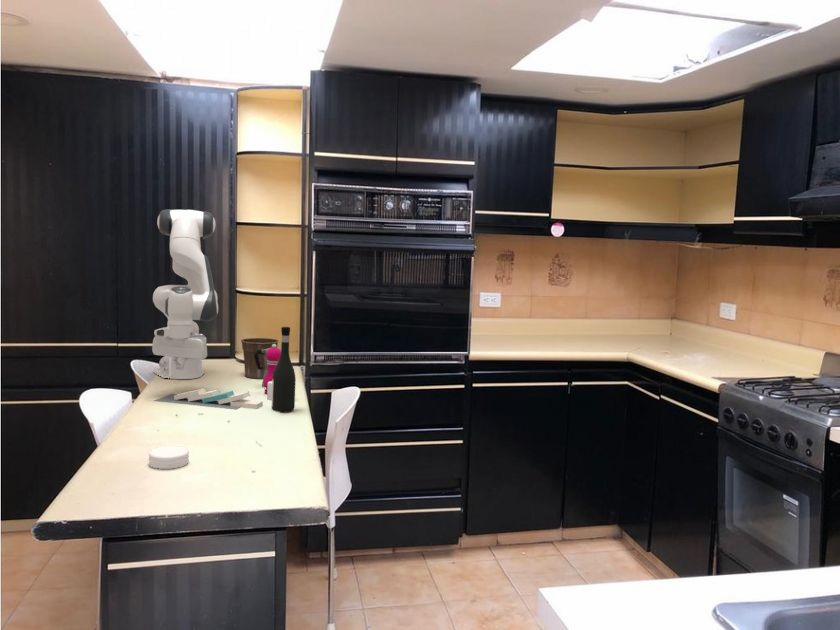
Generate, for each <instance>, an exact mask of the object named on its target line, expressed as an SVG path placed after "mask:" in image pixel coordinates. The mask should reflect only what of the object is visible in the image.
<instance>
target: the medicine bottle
mask: <svg viewBox="0 0 840 630" xmlns="http://www.w3.org/2000/svg"><path fill="white" fill-rule="evenodd" d="M273 374H274V371H273ZM266 399H267V401H271V402H272V381H270V382H268V385H267V396H266Z"/></svg>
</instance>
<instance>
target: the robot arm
mask: <svg viewBox="0 0 840 630" xmlns="http://www.w3.org/2000/svg"><path fill="white" fill-rule="evenodd" d="M156 223H157V227H158V230H159V232H160V233H161V234H162V235H165V236H169V255H170V257H171V258H172V270H173V272H174V273H175V274H176V275H178V276H179V277H181V278H183V279H185V281H187V284H184V285H183V284H182V285H181V284H166V285H162V286H158V287H157V288H155V290H154V292H153V294H152V303H153V304H154V306H155V308H157V309H158V310H159V311H160V312H161V313H163V314H164V316H165V317H166V318H167V324H166V325H167V326H163V327H161V328H158V329H155V330H154V333H153V334H154V338H153V340H152V346H151V350H152V353H153V355H154V356H155V355H156V356H163V357H162V358H160V360H159V362H158V366H159V369H154V370H153V373H154V374H155V375H157V376H158V375H159V377H160V376H161V377H160V378H162V379H164V378H168V379H167V380H169V378H170V379H171V380H192V379H198V378H201V377H202V376H203V375H205V371H204V370H203V362H202V361H203V360H205V359H206V358H207V357H208V347H207V343H208V341H207V337H206V336H205V335H204V334H203V333H200V328H199V325H198V323H197V322H196V321H203V322H212V320H213V319H215V318H216V317H217V316H218V313H219V304H218V303H219V302H218V300H219V299H218V293H217V292H216V289H215V287H214V281H213V276H212V275H213V274H212V270H211V264H210V261H209V260H210V259H209V258H208V256H207V255H205V254H203V252H202V248H201V247H202V245H201V238H203V240H205V239H207V238H209V237H211V236H212V235H213V234H214V232H215V230H216V224H217V223H216V219H215V217H214V215H213V214H212V213H211V212H209V211H204V210H203V211H201V210H196V209H168V208H167V209H163V210H161V211H160V212H159V214H158V216H157V222H156Z"/></svg>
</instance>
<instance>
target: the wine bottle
mask: <svg viewBox="0 0 840 630" xmlns="http://www.w3.org/2000/svg"><path fill="white" fill-rule="evenodd" d="M280 329H281V330H280V331H281V345H280V346H281V348H280V349H281V355H280V358H279V361H278V363H277V366H276V368H275V370H274V374H273V379H272V401H271V409H272V410H273V411H275V412H279V413H290V412H292V411H294V409H295V405H296V404H295V402H296V382H297V381H296V372H295V369H294V366H293V363H292V361H291V356H290V334H291V327H289V326H282V327H281V328H280ZM289 411H290V412H289Z"/></svg>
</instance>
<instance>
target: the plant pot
mask: <svg viewBox="0 0 840 630" xmlns="http://www.w3.org/2000/svg"><path fill="white" fill-rule="evenodd" d="M240 342H241V345H242V346H241V347H242V348H241V349H242V351H243V363H244V376H245V378H250V379H258V380H263V377H264V372H265V362H264V354H259V355H258V357H259V362H260V367H263V369H261V370H260V369H258V368H257V364H256V361H255V358H254V353H255V352H256V351H257V350H263V349H268V348H272V345H273V344H272V343H276V348H278V345H279V344H278V343H279V342H280V341H279V339H276V338H268V337H250V338H248V337H247V338H243V339H240Z"/></svg>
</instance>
